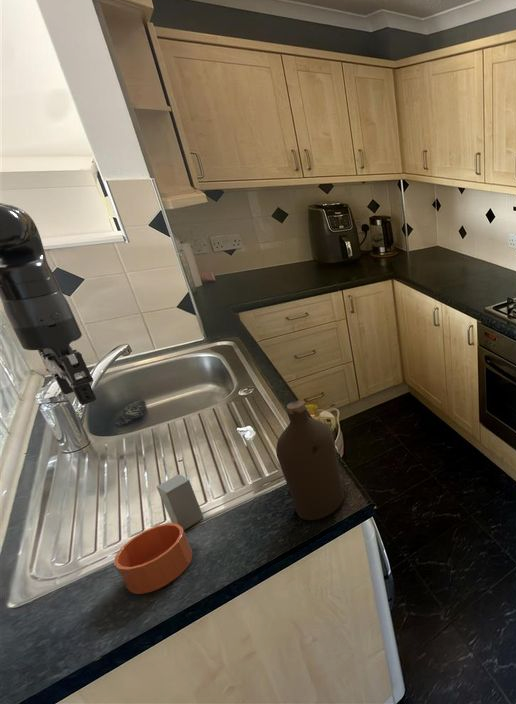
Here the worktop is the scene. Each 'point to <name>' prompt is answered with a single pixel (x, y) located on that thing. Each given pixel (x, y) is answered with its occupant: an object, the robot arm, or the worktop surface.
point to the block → (180, 501)
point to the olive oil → (309, 464)
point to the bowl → (153, 558)
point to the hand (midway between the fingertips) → (79, 397)
